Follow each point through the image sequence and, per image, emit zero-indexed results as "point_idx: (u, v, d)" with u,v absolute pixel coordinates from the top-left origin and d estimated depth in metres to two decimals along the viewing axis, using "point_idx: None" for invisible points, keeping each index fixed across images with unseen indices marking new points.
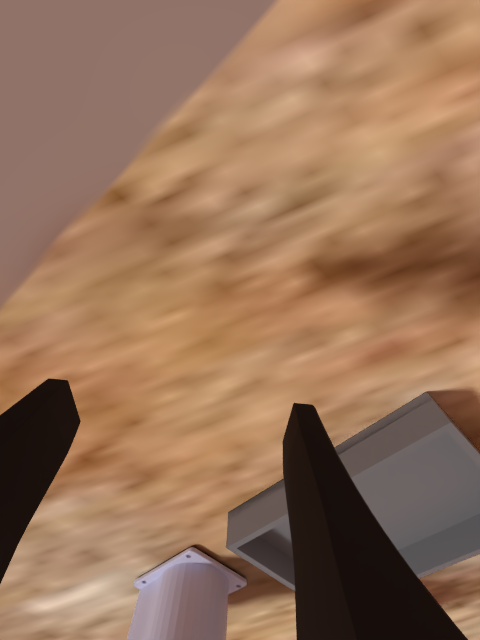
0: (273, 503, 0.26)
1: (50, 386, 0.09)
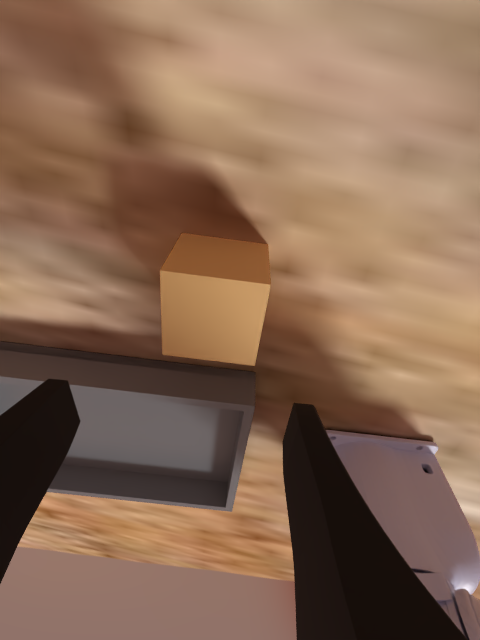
0: None
1: (51, 386, 0.09)
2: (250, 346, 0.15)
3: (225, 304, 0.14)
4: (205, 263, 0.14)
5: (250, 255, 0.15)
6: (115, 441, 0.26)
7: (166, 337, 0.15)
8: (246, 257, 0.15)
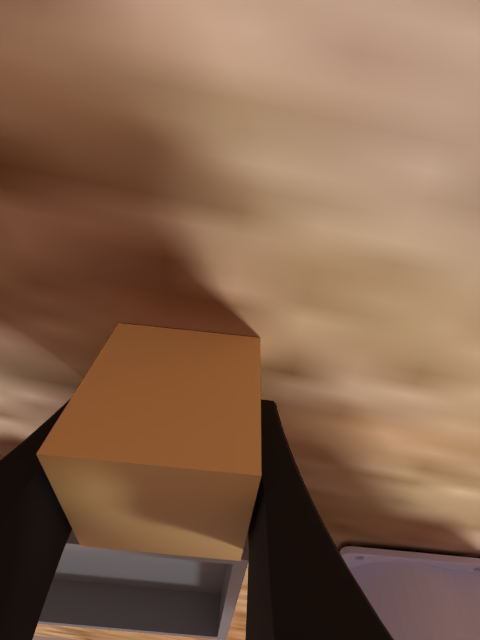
0: None
1: None
2: (230, 542, 0.08)
3: (177, 497, 0.07)
4: (138, 412, 0.07)
5: (228, 376, 0.09)
6: (70, 557, 0.20)
7: (80, 529, 0.08)
8: (220, 382, 0.08)
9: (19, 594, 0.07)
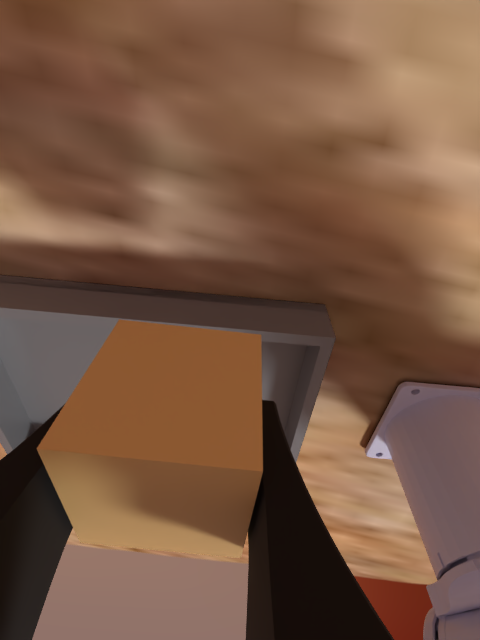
0: None
1: None
2: (231, 539, 0.08)
3: (177, 493, 0.07)
4: (139, 408, 0.07)
5: (229, 372, 0.09)
6: None
7: (80, 526, 0.08)
8: (221, 379, 0.08)
9: (19, 594, 0.07)
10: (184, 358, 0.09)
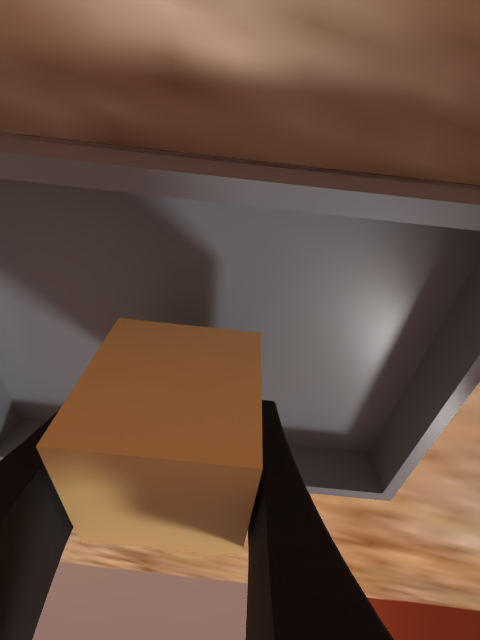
0: None
1: None
2: (231, 537, 0.08)
3: (177, 490, 0.07)
4: (139, 406, 0.07)
5: (228, 370, 0.09)
6: None
7: (80, 524, 0.08)
8: (221, 377, 0.08)
9: (19, 594, 0.07)
10: (184, 356, 0.09)
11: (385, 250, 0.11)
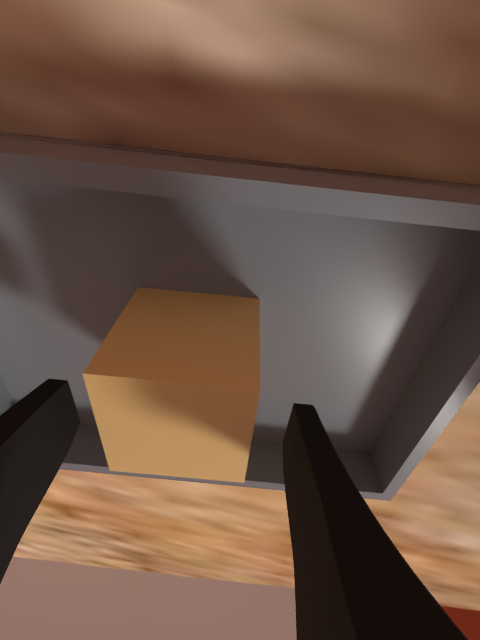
0: None
1: (51, 386, 0.09)
2: (235, 462, 0.10)
3: (192, 414, 0.09)
4: (160, 348, 0.09)
5: (232, 325, 0.10)
6: None
7: (111, 452, 0.10)
8: (226, 329, 0.10)
9: None
10: (194, 315, 0.11)
11: (385, 250, 0.11)
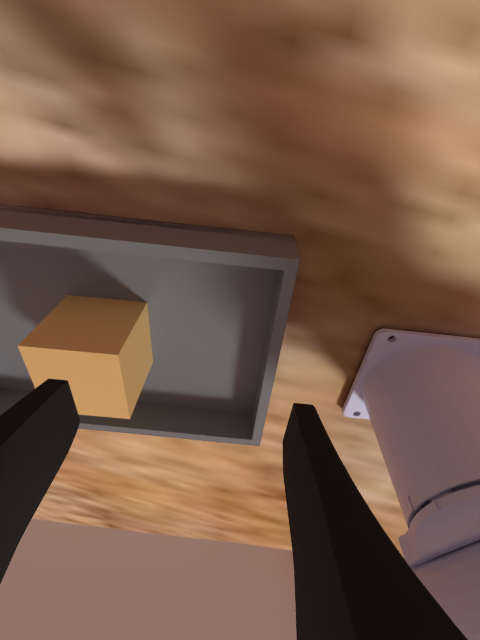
0: None
1: (51, 386, 0.09)
2: (119, 403, 0.16)
3: (85, 371, 0.15)
4: (68, 332, 0.15)
5: (119, 319, 0.17)
6: None
7: None
8: (114, 322, 0.16)
9: None
10: (98, 313, 0.17)
11: (217, 272, 0.17)
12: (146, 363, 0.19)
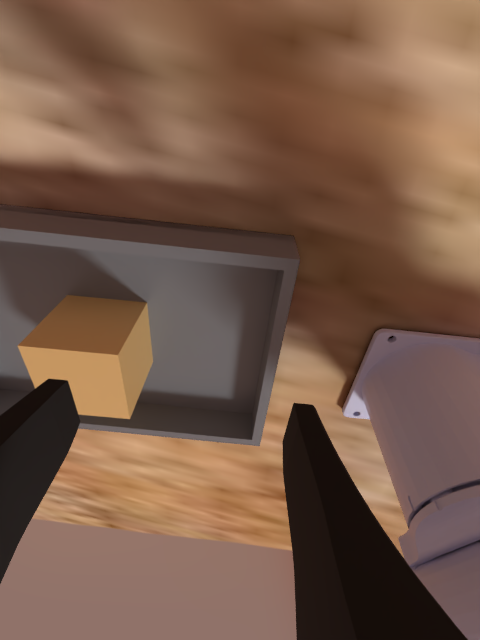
0: None
1: (51, 386, 0.09)
2: (119, 403, 0.16)
3: (85, 371, 0.15)
4: (68, 332, 0.15)
5: (119, 319, 0.17)
6: None
7: None
8: (114, 322, 0.16)
9: None
10: (98, 313, 0.17)
11: (217, 272, 0.17)
12: (146, 363, 0.19)
